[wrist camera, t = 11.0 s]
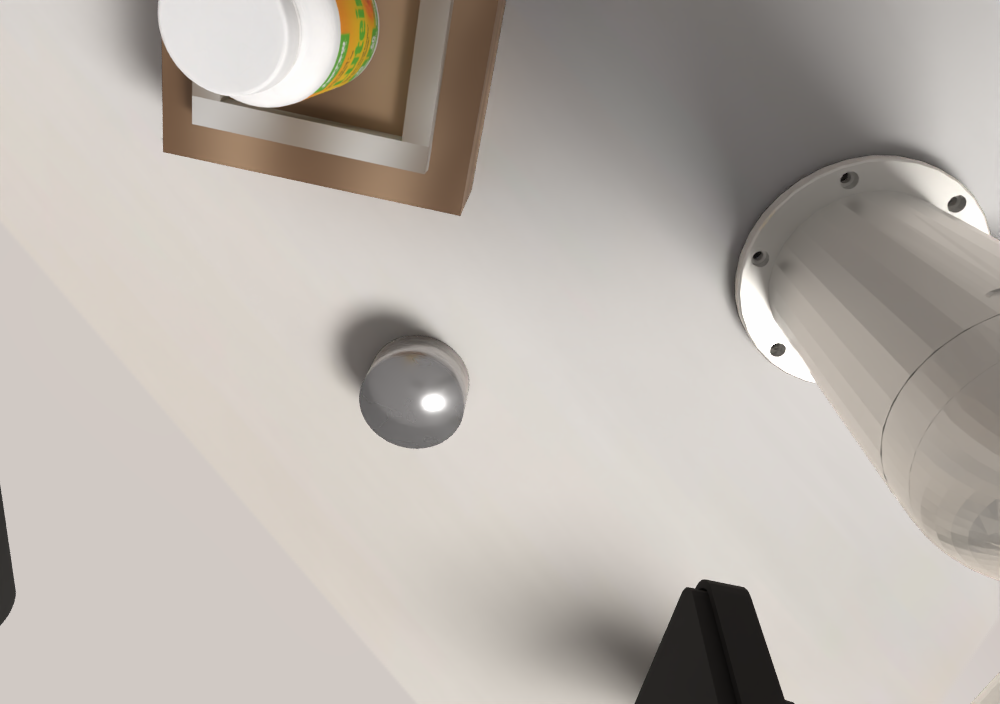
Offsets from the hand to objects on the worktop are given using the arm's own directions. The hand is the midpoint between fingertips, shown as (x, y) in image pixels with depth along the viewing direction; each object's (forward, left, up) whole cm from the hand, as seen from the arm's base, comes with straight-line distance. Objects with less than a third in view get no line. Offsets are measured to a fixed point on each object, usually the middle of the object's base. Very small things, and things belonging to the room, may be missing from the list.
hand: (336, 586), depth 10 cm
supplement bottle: (+8, -5, -26) cm, 27 cm away
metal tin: (+2, +14, -31) cm, 34 cm away
